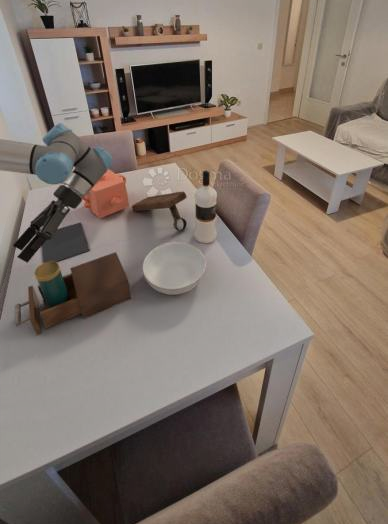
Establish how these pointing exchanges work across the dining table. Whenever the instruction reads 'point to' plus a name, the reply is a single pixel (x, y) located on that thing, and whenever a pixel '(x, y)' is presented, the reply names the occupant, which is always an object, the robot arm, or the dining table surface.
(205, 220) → the vodka
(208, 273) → the dining table surface
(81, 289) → the cabinet
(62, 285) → the tin
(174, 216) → the bottle opener
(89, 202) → the orange box
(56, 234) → the mat
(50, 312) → the drawer
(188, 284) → the serving bowl
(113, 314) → the dining table surface
